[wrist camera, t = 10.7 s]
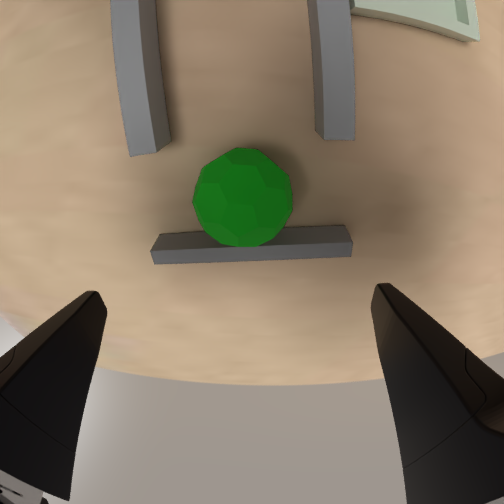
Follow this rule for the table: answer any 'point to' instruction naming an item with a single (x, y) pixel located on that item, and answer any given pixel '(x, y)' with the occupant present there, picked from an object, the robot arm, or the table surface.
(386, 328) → the robot arm
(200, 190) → the polyhedron
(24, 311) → the table surface
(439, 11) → the dish
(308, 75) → the table surface
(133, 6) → the channel
